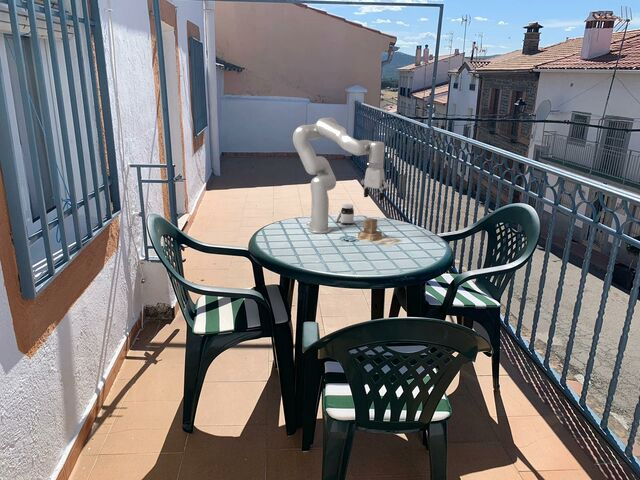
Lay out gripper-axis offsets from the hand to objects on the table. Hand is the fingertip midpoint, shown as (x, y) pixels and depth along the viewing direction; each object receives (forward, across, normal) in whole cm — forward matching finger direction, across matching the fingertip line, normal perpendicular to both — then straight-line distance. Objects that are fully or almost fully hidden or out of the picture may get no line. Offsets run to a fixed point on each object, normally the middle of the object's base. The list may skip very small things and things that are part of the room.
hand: (373, 198), depth 265 cm
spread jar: (+23, -33, +18) cm, 44 cm away
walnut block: (+22, -1, 0) cm, 22 cm away
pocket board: (+23, +4, +1) cm, 23 cm away
